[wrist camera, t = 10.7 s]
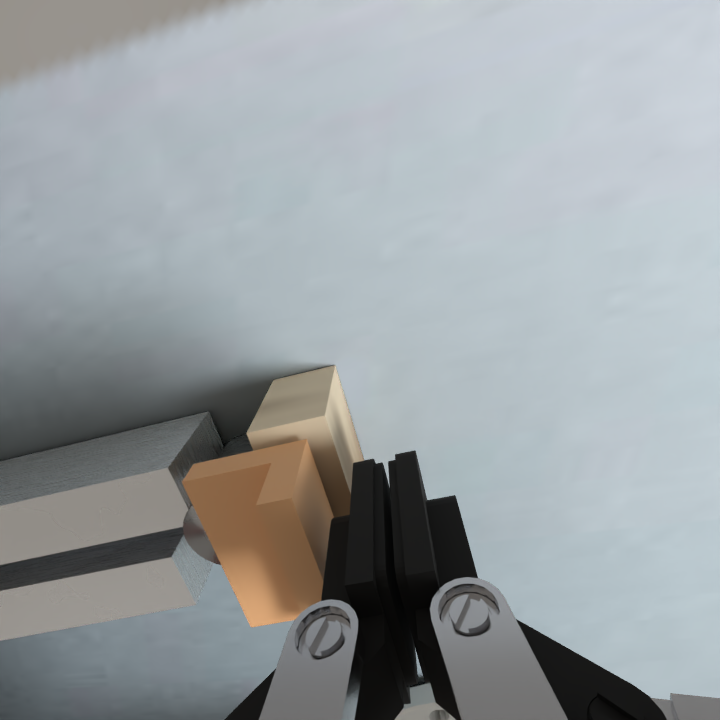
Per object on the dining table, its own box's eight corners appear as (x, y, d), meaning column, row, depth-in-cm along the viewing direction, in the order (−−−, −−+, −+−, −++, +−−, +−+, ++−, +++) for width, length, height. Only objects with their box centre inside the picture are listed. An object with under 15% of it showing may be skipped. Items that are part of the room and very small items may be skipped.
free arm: (299, 487, 17) (282, 557, 14) (-139, 580, 19) (-241, 660, 16) (265, 396, 16) (237, 450, 12) (-201, 508, 18) (-326, 578, 15)
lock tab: (358, 585, 14) (355, 664, 11) (257, 603, 14) (235, 683, 12) (306, 438, 12) (291, 497, 10) (193, 464, 12) (153, 526, 10)
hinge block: (378, 506, 17) (379, 583, 14) (323, 517, 18) (311, 595, 14) (335, 365, 15) (325, 415, 12) (273, 379, 16) (246, 433, 12)
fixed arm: (229, 526, 18) (196, 606, 14) (-118, 596, 20) (-219, 681, 16) (210, 483, 17) (170, 556, 14) (-149, 560, 19) (-261, 641, 16)
